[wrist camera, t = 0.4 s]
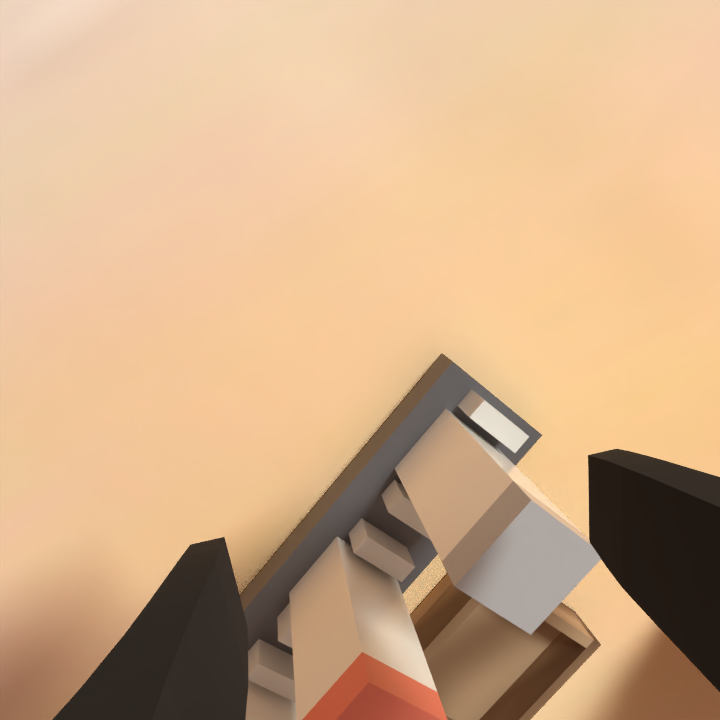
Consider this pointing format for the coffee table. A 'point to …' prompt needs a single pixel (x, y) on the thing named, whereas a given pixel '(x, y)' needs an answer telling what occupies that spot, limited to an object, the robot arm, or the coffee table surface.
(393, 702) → the red cap fuse
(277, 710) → the fuse slot
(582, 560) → the block
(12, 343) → the coffee table surface
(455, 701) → the tray
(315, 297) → the coffee table surface
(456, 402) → the block
